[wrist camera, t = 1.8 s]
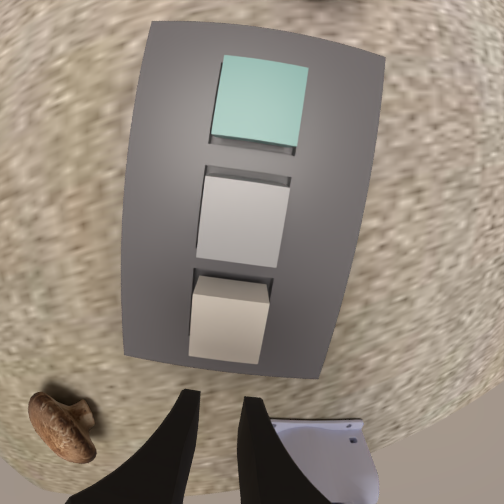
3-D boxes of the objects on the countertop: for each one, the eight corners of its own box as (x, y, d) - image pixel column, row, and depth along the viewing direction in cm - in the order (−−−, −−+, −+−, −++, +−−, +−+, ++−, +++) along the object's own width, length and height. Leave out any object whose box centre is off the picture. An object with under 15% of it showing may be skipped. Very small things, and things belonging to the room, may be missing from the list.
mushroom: (101, 414, 20) (53, 462, 16) (127, 442, 25) (90, 481, 21) (47, 358, 23) (5, 398, 19) (78, 396, 28) (43, 430, 24)
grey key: (283, 183, 17) (290, 187, 15) (272, 252, 18) (276, 267, 16) (211, 173, 17) (205, 175, 14) (202, 243, 18) (196, 257, 16)
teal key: (299, 79, 15) (308, 67, 13) (289, 147, 17) (297, 146, 14) (227, 68, 15) (224, 54, 13) (216, 137, 16) (211, 133, 14)
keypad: (375, 63, 17) (385, 57, 15) (314, 366, 23) (318, 379, 21) (158, 30, 16) (151, 21, 14) (130, 343, 22) (124, 354, 20)
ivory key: (266, 284, 19) (269, 303, 16) (256, 340, 20) (257, 364, 18) (199, 275, 19) (192, 293, 16) (194, 332, 20) (188, 355, 17)
